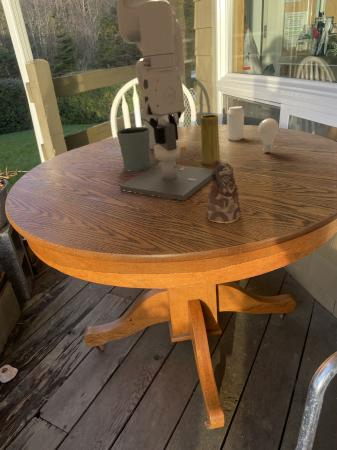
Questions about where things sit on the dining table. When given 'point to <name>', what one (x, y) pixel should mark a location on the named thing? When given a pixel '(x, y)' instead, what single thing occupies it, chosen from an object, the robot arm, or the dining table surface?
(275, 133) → the lightbulb
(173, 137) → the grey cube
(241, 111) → the beverage can
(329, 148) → the dining table surface
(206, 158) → the vase
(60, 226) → the dining table surface
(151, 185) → the post base
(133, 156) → the grey-green cup
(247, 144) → the dining table surface
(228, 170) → the figurine
